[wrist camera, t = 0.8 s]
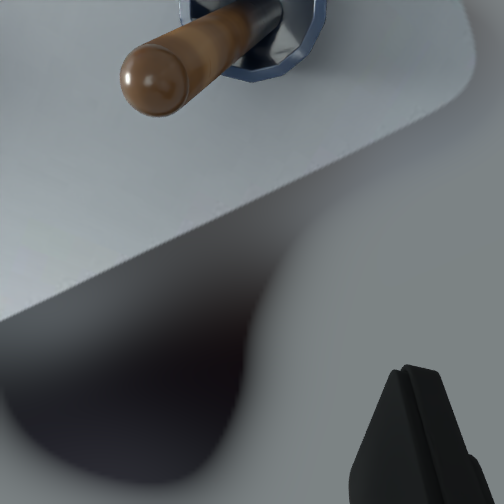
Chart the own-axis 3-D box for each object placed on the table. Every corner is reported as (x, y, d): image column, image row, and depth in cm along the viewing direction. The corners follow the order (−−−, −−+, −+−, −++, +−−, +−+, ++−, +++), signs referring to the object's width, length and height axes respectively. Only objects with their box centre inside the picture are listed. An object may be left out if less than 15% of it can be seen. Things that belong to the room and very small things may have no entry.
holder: (258, -82, 25) (237, -129, 18) (346, 1, 26) (360, -11, 19) (192, 19, 27) (149, 14, 20) (275, 91, 28) (263, 111, 21)
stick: (263, -21, 25) (126, 34, 12) (292, 6, 25) (189, 86, 13) (241, 12, 26) (95, 94, 13) (269, 37, 27) (154, 141, 14)
